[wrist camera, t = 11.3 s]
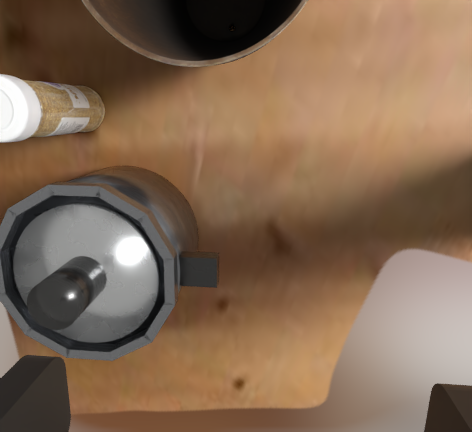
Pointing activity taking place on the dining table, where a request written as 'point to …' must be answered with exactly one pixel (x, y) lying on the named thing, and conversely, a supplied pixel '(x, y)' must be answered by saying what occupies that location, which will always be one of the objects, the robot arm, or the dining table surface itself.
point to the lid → (87, 272)
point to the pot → (152, 224)
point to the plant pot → (194, 27)
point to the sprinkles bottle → (46, 109)
